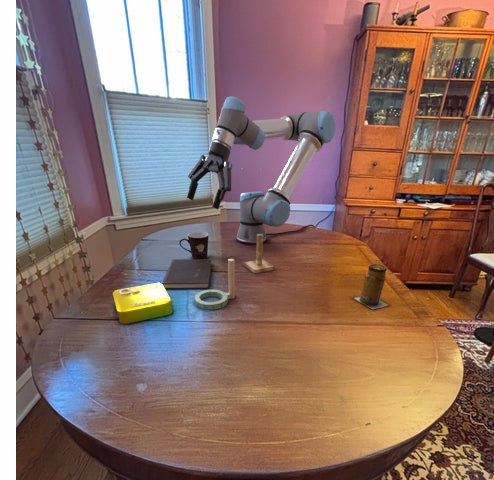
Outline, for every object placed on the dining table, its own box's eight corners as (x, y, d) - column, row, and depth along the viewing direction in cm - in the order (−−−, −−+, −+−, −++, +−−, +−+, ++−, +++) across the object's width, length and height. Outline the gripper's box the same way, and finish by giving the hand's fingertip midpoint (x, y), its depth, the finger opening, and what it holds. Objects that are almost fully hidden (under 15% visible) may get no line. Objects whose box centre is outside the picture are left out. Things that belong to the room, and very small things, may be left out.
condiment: (369, 294, 103) (378, 261, 96) (388, 305, 96) (398, 271, 90) (353, 298, 100) (360, 264, 94) (371, 310, 93) (381, 274, 87)
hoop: (201, 312, 89) (198, 272, 83) (190, 298, 97) (186, 260, 90) (241, 303, 95) (241, 264, 88) (228, 290, 103) (227, 254, 96)
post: (263, 262, 126) (264, 230, 119) (274, 269, 120) (276, 236, 113) (244, 265, 123) (244, 233, 116) (254, 273, 116) (255, 239, 109)
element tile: (120, 325, 82) (116, 310, 80) (115, 302, 93) (111, 288, 91) (174, 314, 88) (172, 299, 86) (163, 293, 99) (161, 280, 97)
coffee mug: (211, 254, 133) (210, 232, 128) (207, 261, 125) (205, 238, 120) (186, 253, 134) (184, 231, 128) (180, 260, 126) (177, 236, 121)
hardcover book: (211, 264, 123) (211, 259, 122) (208, 288, 103) (208, 282, 102) (172, 264, 122) (171, 259, 120) (162, 289, 102) (161, 283, 101)
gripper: (190, 135, 110) (173, 192, 115) (242, 146, 99) (220, 208, 104) (203, 145, 117) (186, 198, 121) (253, 157, 106) (232, 215, 110)
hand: (202, 203), depth 112 cm, fingers open, 13 cm apart
